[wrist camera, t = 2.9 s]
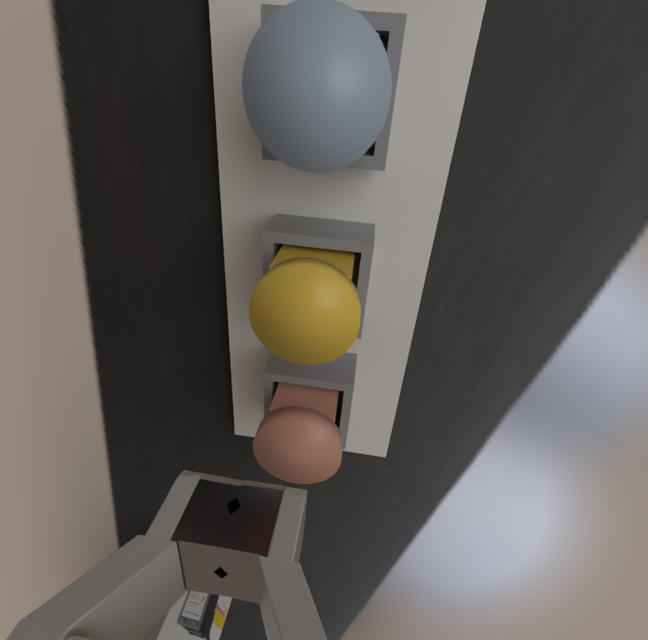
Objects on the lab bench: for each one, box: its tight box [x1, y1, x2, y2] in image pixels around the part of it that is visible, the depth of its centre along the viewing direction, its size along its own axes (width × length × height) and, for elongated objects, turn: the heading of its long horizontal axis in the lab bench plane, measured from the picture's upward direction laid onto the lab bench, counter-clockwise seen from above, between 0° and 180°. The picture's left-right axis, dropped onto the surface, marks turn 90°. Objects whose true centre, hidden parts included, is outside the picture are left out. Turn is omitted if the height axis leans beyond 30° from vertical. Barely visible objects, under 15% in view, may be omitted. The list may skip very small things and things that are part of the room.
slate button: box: [242, 0, 392, 173], centre depth 14 cm, size 5×5×4 cm
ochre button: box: [249, 244, 361, 365], centre depth 18 cm, size 5×5×4 cm
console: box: [209, 0, 486, 457], centre depth 20 cm, size 28×11×4 cm, turn 176°
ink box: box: [141, 590, 232, 640], centre depth 33 cm, size 9×5×12 cm, turn 148°
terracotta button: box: [253, 382, 343, 484], centre depth 22 cm, size 5×5×4 cm
